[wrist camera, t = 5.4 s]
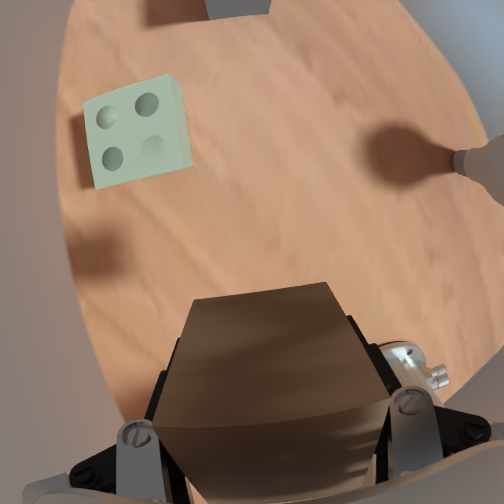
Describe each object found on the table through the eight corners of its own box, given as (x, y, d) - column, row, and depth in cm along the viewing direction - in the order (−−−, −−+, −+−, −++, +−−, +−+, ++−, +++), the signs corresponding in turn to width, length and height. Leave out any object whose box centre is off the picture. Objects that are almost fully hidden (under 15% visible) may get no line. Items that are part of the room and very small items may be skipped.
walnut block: (326, 281, 10) (391, 398, 5) (326, 377, 12) (360, 487, 6) (193, 299, 11) (151, 425, 5) (219, 391, 12) (209, 504, 6)
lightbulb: (442, 198, 24) (522, 228, 13) (428, 139, 22) (514, 144, 11) (478, 182, 23) (552, 204, 13) (466, 127, 21) (545, 132, 11)
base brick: (181, 85, 20) (169, 73, 16) (193, 166, 22) (183, 169, 18) (105, 107, 20) (82, 102, 16) (116, 183, 22) (95, 190, 18)
